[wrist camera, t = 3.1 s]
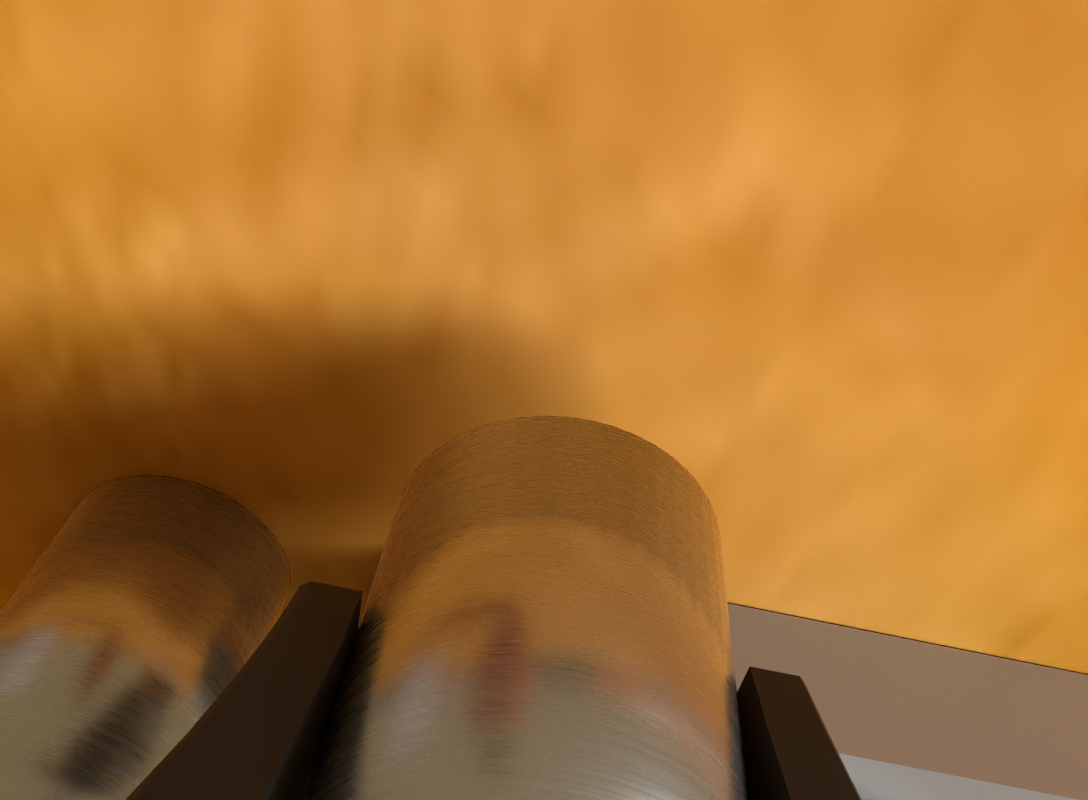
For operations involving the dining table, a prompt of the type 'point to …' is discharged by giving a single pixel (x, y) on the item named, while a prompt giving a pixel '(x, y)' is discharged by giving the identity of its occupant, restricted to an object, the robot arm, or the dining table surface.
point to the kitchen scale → (928, 711)
